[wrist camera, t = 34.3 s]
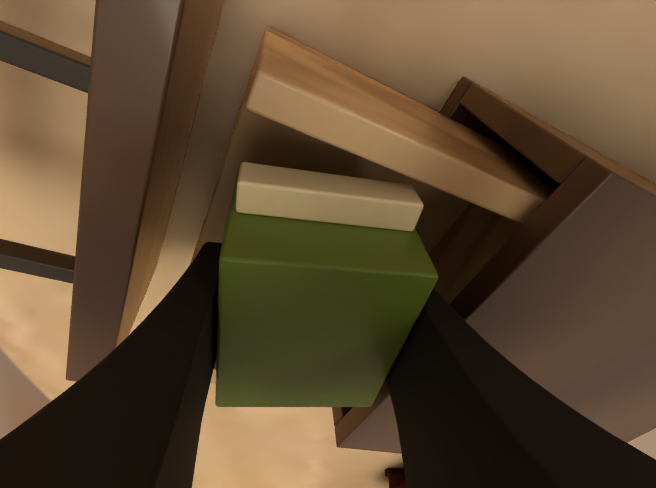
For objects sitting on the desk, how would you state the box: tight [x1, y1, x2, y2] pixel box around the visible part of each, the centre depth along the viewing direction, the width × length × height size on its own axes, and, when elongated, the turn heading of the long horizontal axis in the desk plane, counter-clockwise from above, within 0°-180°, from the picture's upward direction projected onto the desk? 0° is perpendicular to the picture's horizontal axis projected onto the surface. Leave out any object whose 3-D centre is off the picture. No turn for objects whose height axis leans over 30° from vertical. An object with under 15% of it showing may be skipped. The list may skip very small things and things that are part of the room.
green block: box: [215, 162, 438, 407], centre depth 10 cm, size 7×4×4 cm, turn 169°
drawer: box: [0, 0, 558, 383], centre depth 12 cm, size 17×11×6 cm, turn 65°
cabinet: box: [332, 77, 656, 454], centre depth 16 cm, size 14×13×8 cm
